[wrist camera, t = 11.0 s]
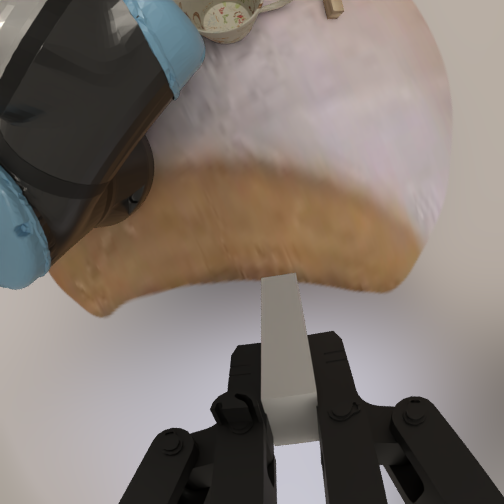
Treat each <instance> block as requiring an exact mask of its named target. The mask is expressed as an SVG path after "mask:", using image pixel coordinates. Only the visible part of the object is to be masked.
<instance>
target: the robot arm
mask: <svg viewBox="0 0 504 504" xmlns="http://www.w3.org/2000/svg"><path fill="white" fill-rule="evenodd" d="M204 58H205V45H204V41H203V38H202V37H201V35H200V33H199V31H198V30H197V28H196V27H195V25H194V24H193V23H192V21H191V20H190V19H189V18H188V16H187V15H186V14H185V13H184V12H183V11H182V10H181V8H180V7H179V6H178V5H177V4H176V3H175V2H174V1H173V0H0V287H3V288H9V289H15V290H16V289H22V288H25V287H27V286H29V285H30V284H31V283H33V282H34V281H35V280H36V279H37V278H39V277H42V276H44V275H45V274H46V273H47V272H48V271H49V269H50V267H51V266H52V265H53V264H54V263H55V262H56V261H57V260H58V259H59V258H61V257H62V256H63V255H64V254H65V253H66V252H67V251H68V250H69V249H70V248H71V247H73V246H74V245H75V244H76V243H77V242H78V241H79V240H80V239H82V238H83V237H84V236H85V235H86V234H87V233H89V232H90V231H91V230H92V229H93V228H97V227H104V226H110V225H114V224H116V223H119V222H121V221H123V220H125V219H126V218H128V217H129V216H130V215H131V214H132V213H133V212H135V211H136V210H137V209H138V208H139V207H140V206H141V204H142V203H143V202H144V200H145V199H146V197H147V195H148V193H149V191H150V188H151V185H152V181H153V175H154V161H153V155H152V151H151V148H150V145H149V143H148V140H147V138H146V137H145V135H144V134H145V133H146V132H147V131H148V129H149V128H150V127H151V125H152V124H153V123H154V122H155V120H156V119H157V118H158V117H159V115H160V114H161V113H162V112H163V110H164V109H165V108H166V107H167V106H168V104H169V103H170V102H171V101H172V100H176V99H177V98H178V97H179V95H180V90H181V89H182V88H183V86H184V85H185V84H186V83H187V82H188V80H189V79H190V78H191V77H192V75H193V74H194V73H195V72H196V71H197V70H198V68H199V67H200V66H201V64H202V62H203V60H204ZM229 376H230V377H229V382H228V391H227V392H226V393H224V394H222V395H220V396H218V398H217V399H216V400H215V401H214V402H213V403H212V406H211V408H210V410H211V412H212V414H213V417H214V419H215V421H216V422H217V423H216V424H215V425H214V426H212V427H209V428H207V429H204V430H201V431H198V432H194V433H191V434H189V432H188V431H186V430H184V429H181V428H170V429H167V430H164V431H162V432H161V433H159V434H158V435H157V436H156V437H155V439H154V440H153V442H152V443H151V446H150V447H149V449H148V451H147V453H146V454H145V456H144V458H143V460H142V462H141V464H140V465H139V467H138V469H137V471H136V473H135V475H134V477H133V478H132V480H131V482H130V484H129V486H128V487H127V489H126V491H125V493H124V495H123V497H122V498H121V500H120V502H119V504H277V488H276V459H275V456H274V445H275V446H280V445H289V444H297V443H304V442H312V441H320V449H321V464H322V470H323V479H324V487H325V497H326V504H388V503H387V499H386V494H385V489H384V485H383V480H382V475H381V471H380V467H379V465H383V466H384V467H385V469H386V471H387V472H388V474H389V476H390V478H391V480H392V481H393V483H394V485H395V487H396V488H397V490H398V492H399V493H400V495H401V497H402V499H403V500H404V502H405V504H504V497H503V495H502V494H501V493H500V491H499V490H498V488H497V487H496V486H495V484H494V483H493V482H492V480H491V479H490V477H489V476H488V475H487V473H486V472H485V471H484V469H483V468H482V467H481V465H480V464H479V463H478V461H477V460H476V459H475V457H474V456H473V455H472V453H471V452H470V451H469V449H468V448H467V447H466V445H465V444H464V443H463V441H462V440H461V439H460V438H459V437H458V435H457V434H456V432H455V431H454V430H453V429H452V427H451V426H450V425H449V423H448V422H447V421H446V420H445V418H444V417H443V416H442V415H441V414H440V412H439V411H438V409H437V408H436V407H435V406H434V404H432V403H431V402H430V401H429V400H428V399H425V398H422V397H412V396H411V397H408V398H405V399H403V400H401V401H400V402H399V403H397V404H396V406H395V407H391V406H376V405H372V404H369V403H367V402H365V401H364V400H362V399H361V398H360V396H359V395H358V393H357V391H356V388H355V384H354V380H353V377H352V373H351V370H350V366H349V363H348V360H347V356H346V352H345V349H344V345H343V342H342V339H341V338H340V337H339V336H338V335H337V334H336V333H335V332H334V331H329V332H324V333H318V334H311V335H307V331H306V326H305V320H304V315H303V309H302V304H301V298H300V293H299V288H298V283H297V277H296V273H291V274H285V275H279V276H272V277H266V278H261V343H255V344H246V345H238V346H237V348H236V349H235V351H234V352H233V354H232V355H231V364H230V373H229Z"/></svg>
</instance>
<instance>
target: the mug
mask: <svg viewBox="0 0 504 504" xmlns="http://www.w3.org/2000/svg"><path fill="white" fill-rule="evenodd" d="M173 1H174V2H175V3H176V4H177V5H178V6H179V7H180V8H181V10H182V11H183V12H184V13H185V14H186V15H187V16H188V18H189V19H190V20H191V21H192V23H193V24H194V25H195V27H196V28H197V30H198V31H199V33H200V35H202V36H204V37H206V38H208V39H210V40H212V41H214V42H217V43H221V44H230V43H235V42H237V41H240V40H241V39H243V38H244V37H245V36H246V35H247V34H248V33H249V32H250V30H251V28H252V26H253V24H254V22H255V20H256V18H257V16H258V14H259V13H261V12H266V11H271V10H275V9H278V8H281V7H283V6H284V5H286V4H288V3H290V2H291V1H293V0H280V1H278V2H275V3H272V4H270V5H267V6H263V7H262V4H263V0H173Z"/></svg>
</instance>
